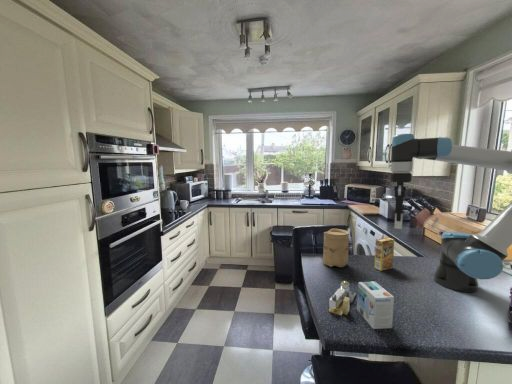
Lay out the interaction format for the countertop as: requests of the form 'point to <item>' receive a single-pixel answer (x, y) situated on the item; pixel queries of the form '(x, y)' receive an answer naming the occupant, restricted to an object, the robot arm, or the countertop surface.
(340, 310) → the keeper
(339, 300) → the latch bar
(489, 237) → the robot arm
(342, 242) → the container
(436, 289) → the countertop surface
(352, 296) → the plate
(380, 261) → the candy box
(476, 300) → the countertop surface
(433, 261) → the countertop surface
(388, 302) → the light bulb box
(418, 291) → the countertop surface
